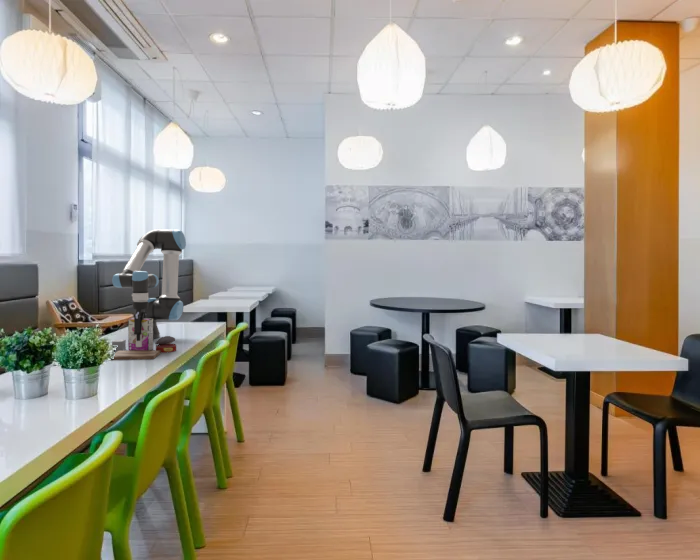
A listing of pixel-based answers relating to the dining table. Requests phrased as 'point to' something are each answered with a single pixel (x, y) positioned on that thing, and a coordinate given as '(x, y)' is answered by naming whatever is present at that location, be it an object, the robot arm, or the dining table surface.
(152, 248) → the robot arm
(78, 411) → the dining table surface
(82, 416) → the dining table surface
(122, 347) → the gray cube
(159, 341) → the canned food
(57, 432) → the dining table surface
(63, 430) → the dining table surface
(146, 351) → the walnut board
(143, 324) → the candy bar box
